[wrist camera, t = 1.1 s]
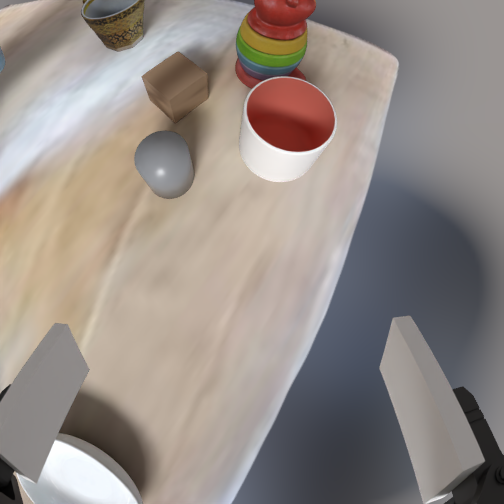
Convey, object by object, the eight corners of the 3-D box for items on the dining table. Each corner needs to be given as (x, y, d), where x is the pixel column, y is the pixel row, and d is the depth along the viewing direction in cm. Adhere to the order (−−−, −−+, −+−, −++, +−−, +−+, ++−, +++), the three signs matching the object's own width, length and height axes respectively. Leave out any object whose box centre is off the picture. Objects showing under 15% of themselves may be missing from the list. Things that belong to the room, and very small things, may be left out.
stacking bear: (309, 94, 41) (350, 10, 23) (243, 102, 40) (256, 9, 22) (288, 44, 41) (313, -37, 24) (227, 50, 40) (232, -38, 23)
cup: (307, 119, 40) (329, 79, 30) (316, 184, 39) (344, 156, 29) (236, 117, 39) (241, 74, 29) (240, 186, 38) (246, 154, 28)
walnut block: (150, 100, 38) (141, 76, 32) (182, 76, 39) (178, 51, 33) (175, 123, 38) (169, 100, 32) (208, 98, 39) (207, 73, 33)
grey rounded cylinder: (142, 166, 37) (128, 144, 30) (184, 148, 38) (177, 122, 31) (157, 206, 37) (144, 190, 30) (201, 187, 38) (197, 167, 31)
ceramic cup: (165, 28, 40) (157, -14, 30) (125, 65, 39) (109, 24, 29) (114, 14, 39) (102, -22, 30) (77, 48, 38) (58, 12, 28)
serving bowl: (144, 433, 34) (131, 458, 27) (159, 528, 32) (153, 555, 25) (22, 405, 32) (-2, 419, 25) (50, 501, 30) (35, 520, 23)
